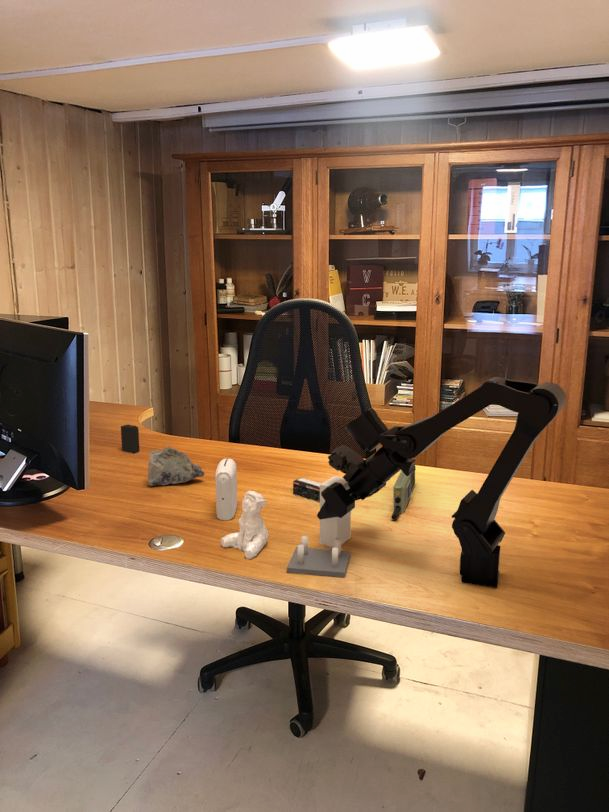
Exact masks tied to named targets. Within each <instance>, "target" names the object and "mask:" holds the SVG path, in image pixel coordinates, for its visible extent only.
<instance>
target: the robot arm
mask: <svg viewBox="0 0 609 812" xmlns="http://www.w3.org/2000/svg"><path fill="white" fill-rule="evenodd" d="M566 404H567V396H566V392H565V391H564V389H563V387H561V386H560V385H558V384H557V383H554V382H552V381H549V382H548V381H545V382H540V383H536V382H535V383H534V382H530V381H520V380H513V379H512V380H511V379H507V378H506V379H505V378H503V377H499V376H494V377H492V378H490V379H487V380H486V381H485V382H483V383H482V385H480V387H477V388H476V389H474V390H473V391H471V392H469V393H468V394H466V395H465V396H463V397H461V398H459V399H458V400H457V401H456V402H455V401H454V403H452V404H450V405H449V406H447V407H445V408H444V409H443V410H441V411H439V412H437V413H435V414H433V415H430V416H428V417H424V418H421V419H419V420H417V421H414V422H412V423H409V424H408V425H405V426H400V425H399V426H397V425H396V426H392V427H390V428H388V427H387V426H386V424H385V423H384V421H383V420H382V419H381V418H380V417H379V415H378V413H377V411H376V410H375V409H374V407H371V408H368V409H367V410H365V411H364V412H363V413H362V414H359V416H357V417H356V418H354V419H352V420H351V421H349V422H348V424H346V425H345V427H344V429H345V430H346V431H347V433H348V434H349V435H350V436H351V438H352V439H353V440H354V442H355V443H356V444H357V445H358V447H359V448H360V449H361V450H362V451H363V452H366V451H369V452H372V451H374V450H375V449H377V448H378V447H379V446H380V445H381V446H380V448H378V450H377V451H375V452H374V453H373V454H371V455H370V456H369V457H367V458H366V459H365V458H363V457H362V455H360V454H359V453H357V452H356V451H355V450H353V449H352V448H350V447H348V446H347V445H344V444H341V445H340V446H338V447H336V448H334V449H333V451H332V452H331V454H329V455H328V456H327V459H328V466H330V467H331V468H333V469H335V470H336V471H337V472H341V473H343V474H344V475H343V476H342V478H344V479H345V481H346V482H347V481H348V482H349V483H348V486H349V487H350V488H349V489H348V490H346V489H345V487H344V486H343V485H342V484H341V483H338V482H335V483H333V484H331V485H330V486H328V487H327V488H325V489H324V490H323V491H322V492H321V496H322V497H323V498H324V500H325V502H324V504H323V506H322V507H321V509H320V508H319V511H318V512H317V514H316V517H317V518H318V519H319V521H320V520H321V519H327V518H333V517H339V518H342V517H343V516H345V515H346V514H347V513H349V512H350V511H351V512H352V510H354V509H355V508H356V501H359V500H361V501H364V500H365V499H366V498H369V497H372V496H373V495H374V494H376V493H378V492H379V491H381V490H382V489H384V488H385V486H387V482H389V481H390V480H391V478H393V477H395V475H396V474H398V472H401V470H402V471H403V473H404V474H405V475H406V476H409V475H410V474H412V473H413V472H414V471H415V472H416V459H415V458H416V457H418V456H419V455H421V454H422V453H424V452H425V451H427V450H428V449H429V448H430V447H432V446H433V445H434V444H435V443H436V442H437V441H438V440H439V439H440V438H441V437H442V436H443V435H444V434H445V433H447V431H449V430H451V429H452V428H454V427H456V426H457V425H459V424H461V423H463V422H464V421H466V420H468V419H469V418H471V417H473V416H474V415H476V414H478V413H479V412H481V411H482V410H484V409H486V408H487V407H489V406H491V405H497V406H500V407H502V408H504V409H507V410H508V411H511V412H514V413H517V417H516V421H515V426H514V430H513V432H512V433H511V435H510V436H509V438H508V440H507V442H506V444H505V445H504V447H503V449H502V451H501V452H500V454H499V455H498V458H497V459H496V461H495V462H494V465H493V466H492V468H491V470H490V471H489V472H488V475H487V476H486V477H485V479H484V481H483V484H482V485H481V487H480V489H478V492H476V491H475V490H474V489H471V490H470V491H469V492H468V493H467V494H465V495H464V497H462V499H461V500H460V502H459V505H458V508H457V509H456V511H455V512H454V513H453V514H452V515H451V518H452V519H453V521H452V525H451V528H452V531H453V534H454V535H455V536H456V538H457V539H458V541H459V545H460V548H461V552H460V559H459V572H458V573H459V575H460V576H461V579H460V582H461V583H462V584H468V585H474V586H481V587H486V588H487V587H488V588H494V589H497V588H498V587H499V580H500V571H501V570H500V559H501V545H499V544H500V543H501V542H502V541H503V538H504V537H505V534H506V531H505V530H504V529H503V528H502V527H501V526H500V524H499V523H498V522H497V520H496V517H497V514H498V512H499V511H498V510H499V506H500V501H501V499H502V496H504V494H505V492H506V490H507V488H508V486H509V485H510V484H511V481H512V480H513V478H514V477H515V475H516V473H517V471H518V470H519V469H520V466H521V465H522V463H523V462H524V460H525V458H526V456H527V455H528V454H529V452H530V450H531V448H532V447H533V445H534V444H535V442H536V441H537V438H538V437H539V436H540V435H541V434H542V433H543V432H544V430H545V429H546V428H547V427H548V426H549V424H551V422H552V421H554V420H555V418H556V417H557V416H558V415H559V414H560V413H561V412H562V410H563V409H564V408H565V406H566Z"/></svg>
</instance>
